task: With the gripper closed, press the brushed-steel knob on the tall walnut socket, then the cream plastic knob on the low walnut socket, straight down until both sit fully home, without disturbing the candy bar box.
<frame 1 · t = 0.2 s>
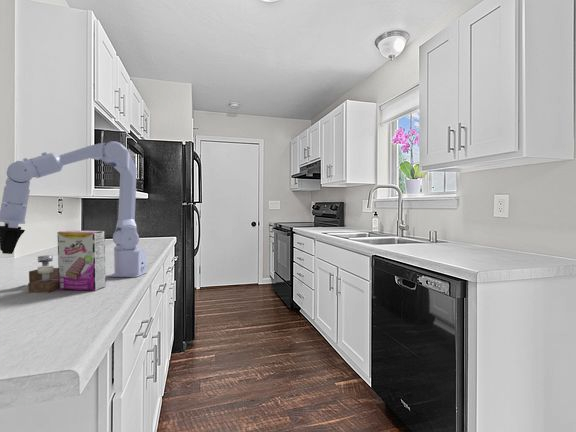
hand: (6, 252, 96), 11 cm above the countertop, tool pointing down, fingers open, 7 cm apart
candy bar box: (82, 289, 97), on the countertop
cream knob: (45, 274, 95), point 4 cm above the countertop, slide at 2.0 cm
steel knob: (45, 266, 102), point 5 cm above the countertop, slide at 2.0 cm
low socket: (46, 290, 95), on the countertop
tall socket: (45, 284, 102), on the countertop
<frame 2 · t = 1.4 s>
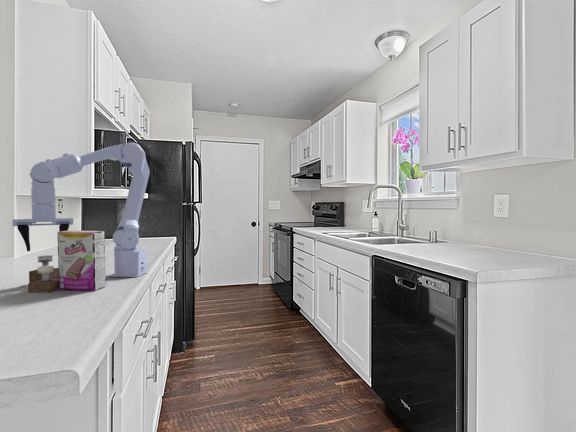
hand: (44, 249, 102), 10 cm above the countertop, tool pointing down, fingers open, 7 cm apart
nothing on the countertop moved.
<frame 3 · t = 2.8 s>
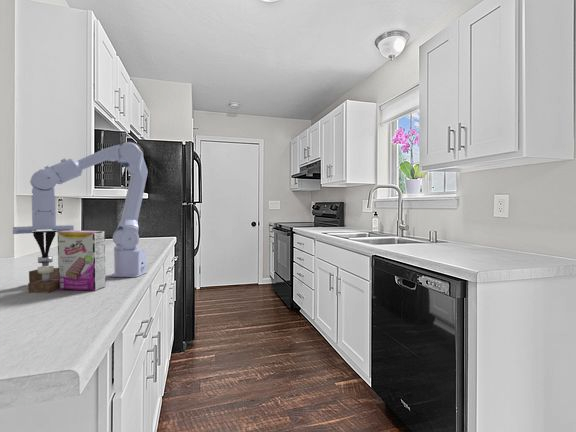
hand: (45, 257, 102), 8 cm above the countertop, tool pointing down, fingers closed, pressing on steel knob
steel knob: (45, 267, 102), point 5 cm above the countertop, slide at 1.7 cm, touching gripper
everything else where it was.
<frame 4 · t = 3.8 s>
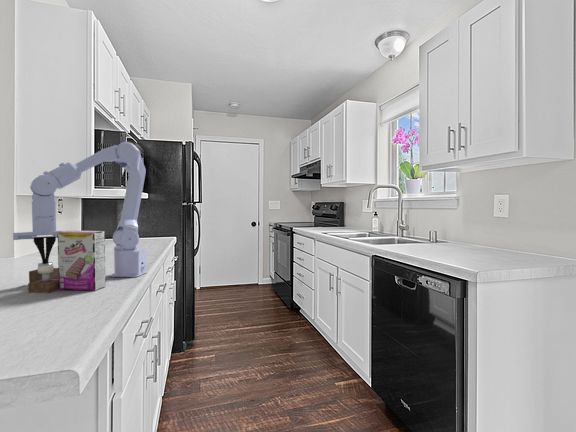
hand: (45, 262, 102), 7 cm above the countertop, tool pointing down, fingers closed
steel knob: (45, 273, 102), point 3 cm above the countertop, slide at -0.1 cm
everything else where it was.
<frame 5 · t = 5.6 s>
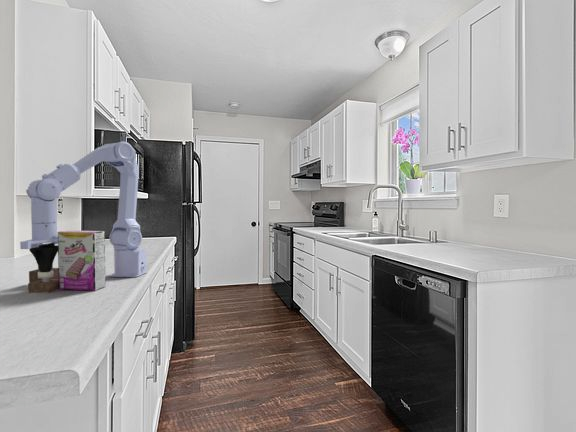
hand: (45, 271, 95), 5 cm above the countertop, tool pointing down, fingers closed, pressing on cream knob
cream knob: (45, 279, 95), point 3 cm above the countertop, slide at 0.6 cm, touching gripper
everything else where it was.
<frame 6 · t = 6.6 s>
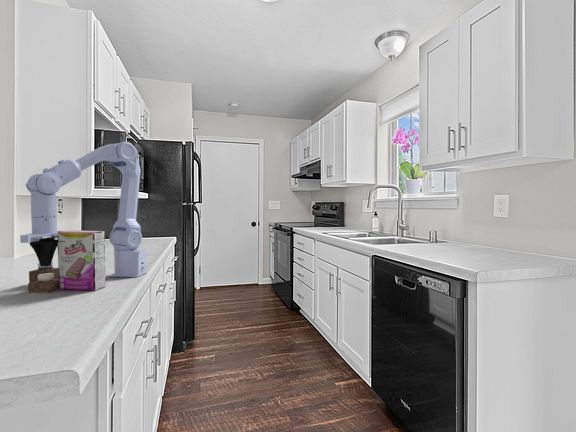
hand: (45, 265, 95), 7 cm above the countertop, tool pointing down, fingers closed
cream knob: (45, 281, 95), point 2 cm above the countertop, slide at -0.1 cm
everything else where it was.
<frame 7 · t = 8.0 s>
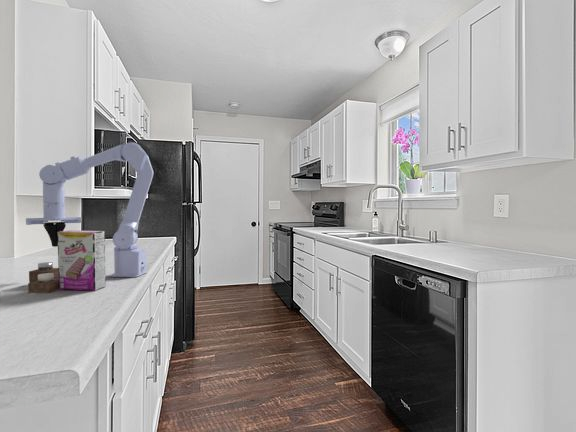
hand: (55, 246, 110), 10 cm above the countertop, tool pointing down, fingers closed
nothing on the countertop moved.
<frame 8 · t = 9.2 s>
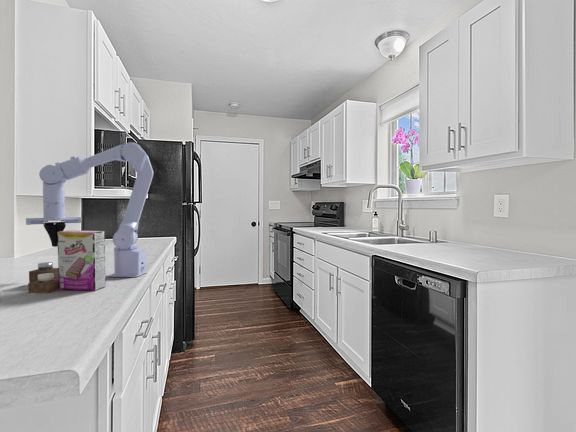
hand: (55, 246, 110), 10 cm above the countertop, tool pointing down, fingers closed
nothing on the countertop moved.
at the end: steel knob slide at -0.1 cm; cream knob slide at -0.1 cm; candy bar box moved 0.2 cm from its start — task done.
